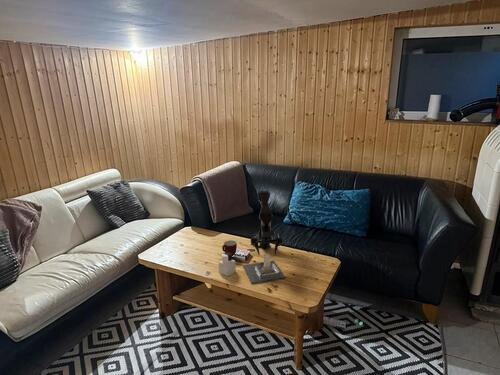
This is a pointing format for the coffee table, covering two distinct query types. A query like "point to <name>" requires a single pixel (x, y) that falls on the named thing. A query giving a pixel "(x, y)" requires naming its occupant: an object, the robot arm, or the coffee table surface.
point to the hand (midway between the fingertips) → (267, 255)
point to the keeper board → (258, 277)
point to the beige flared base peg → (267, 264)
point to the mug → (230, 247)
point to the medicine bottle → (227, 264)
